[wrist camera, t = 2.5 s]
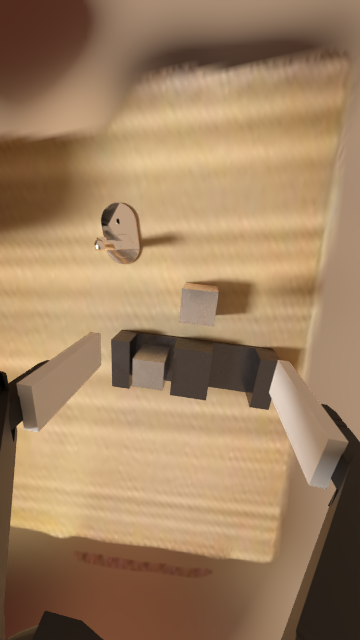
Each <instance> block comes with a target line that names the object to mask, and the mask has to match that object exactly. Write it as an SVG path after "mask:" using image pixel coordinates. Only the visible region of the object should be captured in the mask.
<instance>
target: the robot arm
mask: <svg viewBox="0 0 360 640" xmlns="http://www.w3.org/2000/svg"><path fill="white" fill-rule="evenodd" d="M100 366H101V334H100V333H93V332H90V333H89V334H88V335H86V336H85V337H83V338H82V339H80V340H79V341H77V342H76V343H74V344H73V345H72V346H70V347H69V348H67V349H66V350H64V351H63V352H61V353H60V354H59V355H57V356H56V357H54V358H53V359H51V360H46V361H44V362H41V363H39V364H37V365H35V366H34V367H32V368H31V370H30V369H29V370H28V371H26V372H25V373H23V374H22V375H20V376H19V377H17V378H16V379H14V380H13V381H11V382H10V383H8V380H7V375H6V373H4V372H2V371H0V640H5V619H4V596H5V583H6V570H7V557H8V544H9V531H10V518H11V505H12V493H13V480H14V467H15V454H16V441H17V428H16V426H17V425H18V424H19V423H20V422H21V421H23V424H24V430H29V431H34V432H39V431H40V430H41V429H42V428H43V427H44V426H45V425H46V424H47V423H48V421H49V420H50V419H51V418H52V417H53V416H54V415H55V414H56V413H57V412H58V411H59V410H60V409H61V408H62V407H63V405H64V404H65V403H66V402H67V401H68V400H69V399H70V398H71V397H72V396H73V395H74V394H75V393H76V392H77V391H78V389H79V388H80V387H81V386H82V385H83V384H84V383H85V382H86V381H87V380H88V379H89V378H90V377H91V376H92V375H93V373H94V372H95V371H96V370H97V369H98V368H99V367H100ZM269 394H270V396H271V398H272V401H273V403H274V405H275V408H276V410H277V412H278V415H279V417H280V419H281V422H282V424H283V426H284V429H285V431H286V433H287V436H288V438H289V440H290V443H291V445H292V447H293V450H294V452H295V454H296V457H297V459H298V461H299V463H300V466H301V468H302V470H303V473H304V475H305V477H306V480H307V482H308V484H309V485H311V486H315V487H320V488H325V489H327V487H328V485H329V483H330V480H331V479H332V481H333V483H334V485H335V487H336V491H335V493H334V495H333V497H332V499H331V501H330V503H329V505H328V506H329V509H328V512H327V514H326V517H325V520H324V523H323V526H322V528H321V531H320V534H319V537H318V539H317V542H316V545H315V548H314V550H313V553H312V556H311V559H310V561H309V564H308V567H307V570H306V572H305V575H304V578H303V581H302V584H301V586H300V589H299V592H298V595H297V598H296V600H295V603H294V606H293V608H292V611H291V614H290V617H289V619H288V623H287V625H286V628H285V631H284V633H283V636H282V639H281V640H360V442H359V441H358V439H357V438H356V437H355V435H354V434H353V433H352V432H351V430H350V429H349V428H347V425H346V424H345V423H344V422H343V421H342V419H341V418H340V417H339V415H338V414H337V413H336V412H335V411H334V410H332V409H331V408H330V407H329V406H327V405H324V404H320V403H319V401H318V400H317V398H316V397H315V396H314V394H313V393H312V392H311V390H310V389H309V387H308V386H307V385H306V383H305V382H304V381H303V379H302V378H301V377H300V375H299V374H298V373H297V371H296V370H295V368H294V367H293V366H292V364H291V363H290V362H289V361H283V360H278V362H277V365H276V369H275V373H274V376H273V380H272V383H271V387H270V390H269ZM7 640H103V639H102V638H101V637H100V636H98V635H97V634H96V633H95V632H94V631H93V630H92V629H91V628H89V627H88V626H87V625H86V624H85V623H84V622H83V621H81V620H77V619H73V618H70V617H66V616H63V615H59V614H56V613H52V612H48V611H45V612H44V614H43V616H42V619H41V621H40V623H39V625H38V626H34V627H31V628H29V629H26V630H23V631H21V632H19V633H17V634H15V635H13V636H12V637H10V638H8V639H7Z"/></svg>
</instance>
